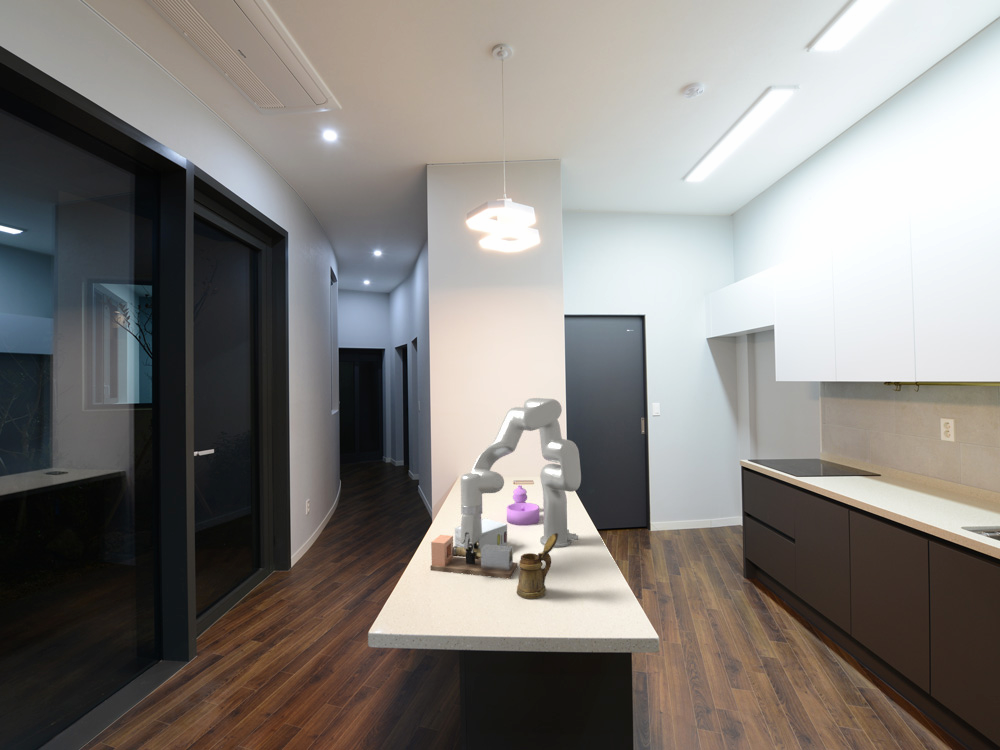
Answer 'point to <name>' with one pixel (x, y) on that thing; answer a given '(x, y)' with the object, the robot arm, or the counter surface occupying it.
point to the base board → (473, 568)
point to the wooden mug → (535, 571)
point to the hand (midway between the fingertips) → (472, 560)
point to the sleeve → (496, 557)
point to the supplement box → (487, 534)
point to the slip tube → (461, 552)
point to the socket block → (442, 550)
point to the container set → (522, 509)
